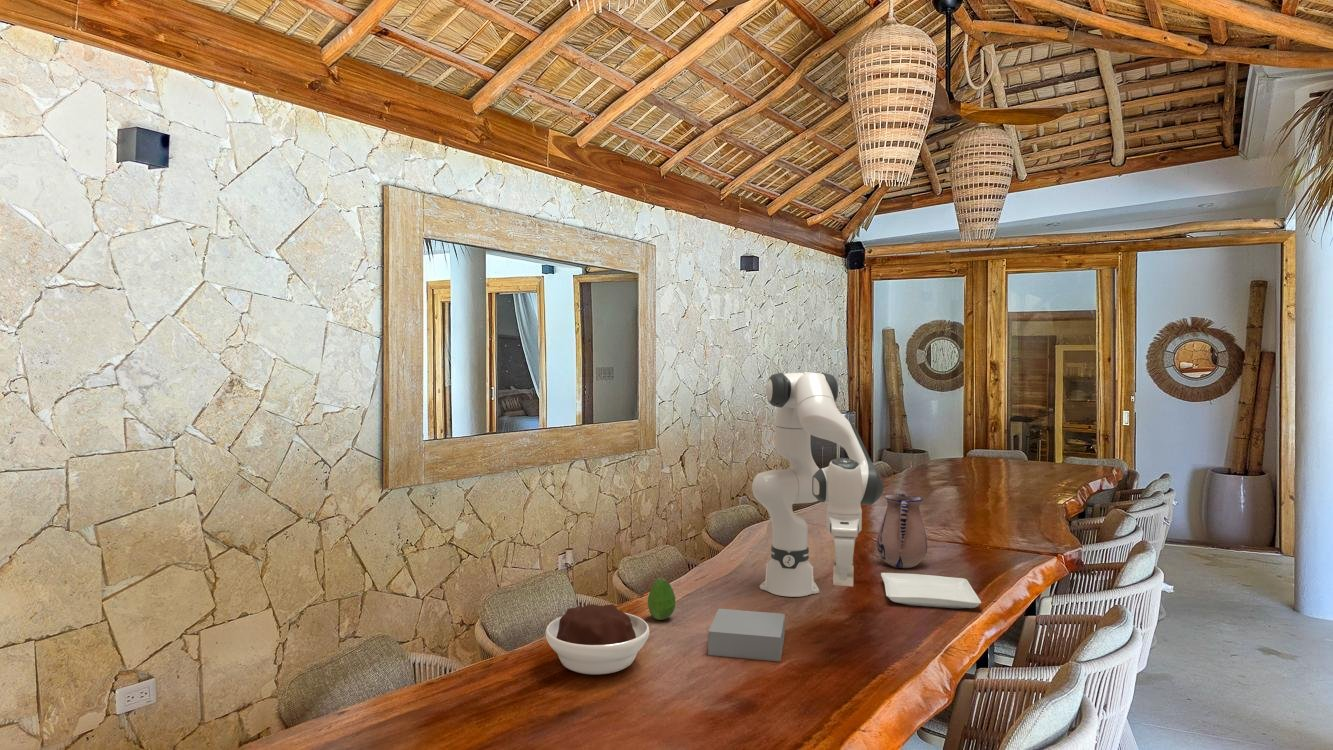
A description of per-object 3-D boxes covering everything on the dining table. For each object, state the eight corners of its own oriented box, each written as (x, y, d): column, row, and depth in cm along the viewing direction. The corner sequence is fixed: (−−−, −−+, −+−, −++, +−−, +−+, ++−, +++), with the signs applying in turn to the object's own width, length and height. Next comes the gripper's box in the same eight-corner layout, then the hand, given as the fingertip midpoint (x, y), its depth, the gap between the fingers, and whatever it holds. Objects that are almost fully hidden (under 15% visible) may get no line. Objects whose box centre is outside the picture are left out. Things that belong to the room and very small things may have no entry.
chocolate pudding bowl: (596, 639, 208) (597, 582, 208) (670, 663, 192) (670, 602, 192) (523, 668, 189) (523, 605, 188) (598, 697, 173) (598, 629, 173)
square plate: (982, 614, 232) (982, 601, 232) (886, 607, 238) (886, 595, 238) (966, 588, 259) (966, 576, 259) (880, 582, 264) (880, 570, 264)
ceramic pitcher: (920, 559, 292) (922, 492, 292) (934, 575, 271) (935, 503, 271) (872, 558, 294) (873, 491, 293) (882, 573, 273) (883, 502, 272)
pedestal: (718, 630, 216) (718, 608, 216) (784, 635, 212) (785, 613, 212) (708, 654, 198) (708, 631, 198) (780, 661, 194) (780, 637, 194)
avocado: (651, 625, 219) (651, 582, 219) (644, 615, 227) (645, 574, 227) (678, 622, 222) (679, 580, 221) (671, 613, 229) (671, 572, 229)
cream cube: (833, 579, 206) (833, 560, 205) (852, 580, 205) (853, 561, 204) (833, 585, 201) (833, 565, 201) (853, 586, 200) (853, 566, 200)
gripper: (831, 513, 213) (830, 564, 213) (831, 530, 193) (830, 586, 193) (855, 515, 212) (854, 566, 212) (857, 532, 192) (856, 588, 192)
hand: (843, 576), depth 203 cm, fingers closed on cream cube, 5 cm apart
